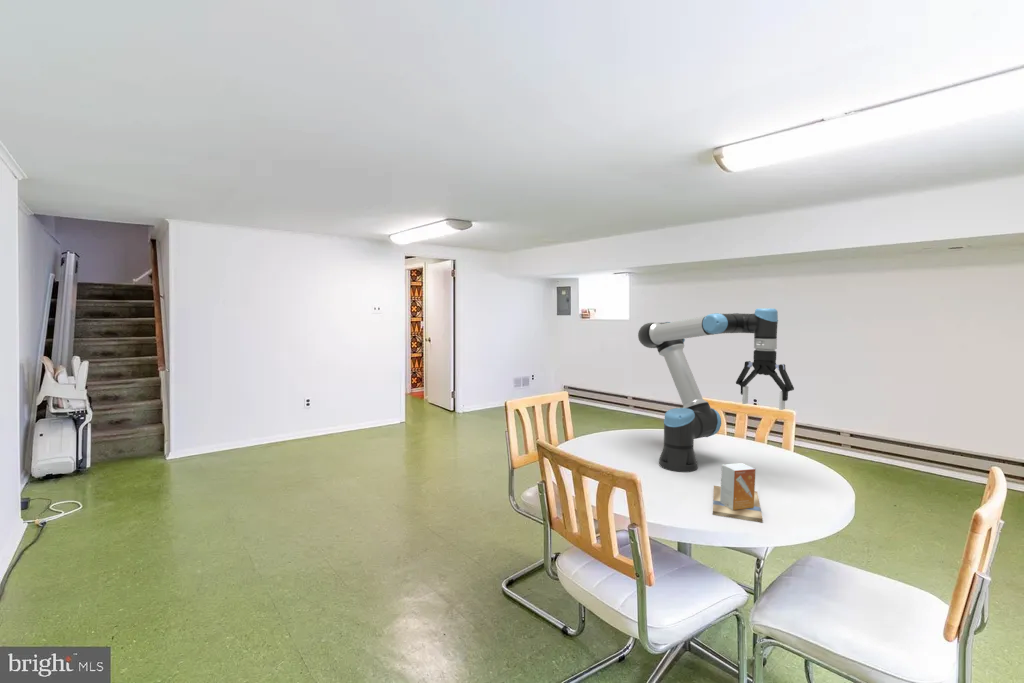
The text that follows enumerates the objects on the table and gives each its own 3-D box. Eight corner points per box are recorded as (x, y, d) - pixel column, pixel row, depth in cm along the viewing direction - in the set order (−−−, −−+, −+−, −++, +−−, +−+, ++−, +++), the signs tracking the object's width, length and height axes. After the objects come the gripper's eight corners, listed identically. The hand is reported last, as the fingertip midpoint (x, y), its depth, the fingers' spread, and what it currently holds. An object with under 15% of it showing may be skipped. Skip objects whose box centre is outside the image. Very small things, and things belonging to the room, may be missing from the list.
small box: (733, 510, 151) (734, 470, 150) (719, 503, 157) (720, 464, 156) (754, 508, 152) (756, 468, 152) (740, 500, 159) (741, 462, 158)
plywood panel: (712, 514, 151) (712, 510, 150) (713, 488, 172) (713, 485, 172) (762, 522, 145) (762, 518, 145) (757, 494, 167) (757, 491, 167)
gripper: (727, 348, 185) (725, 402, 186) (796, 352, 165) (793, 413, 166) (737, 347, 189) (735, 400, 191) (805, 351, 169) (803, 410, 171)
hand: (762, 406), depth 178 cm, fingers open, 13 cm apart
